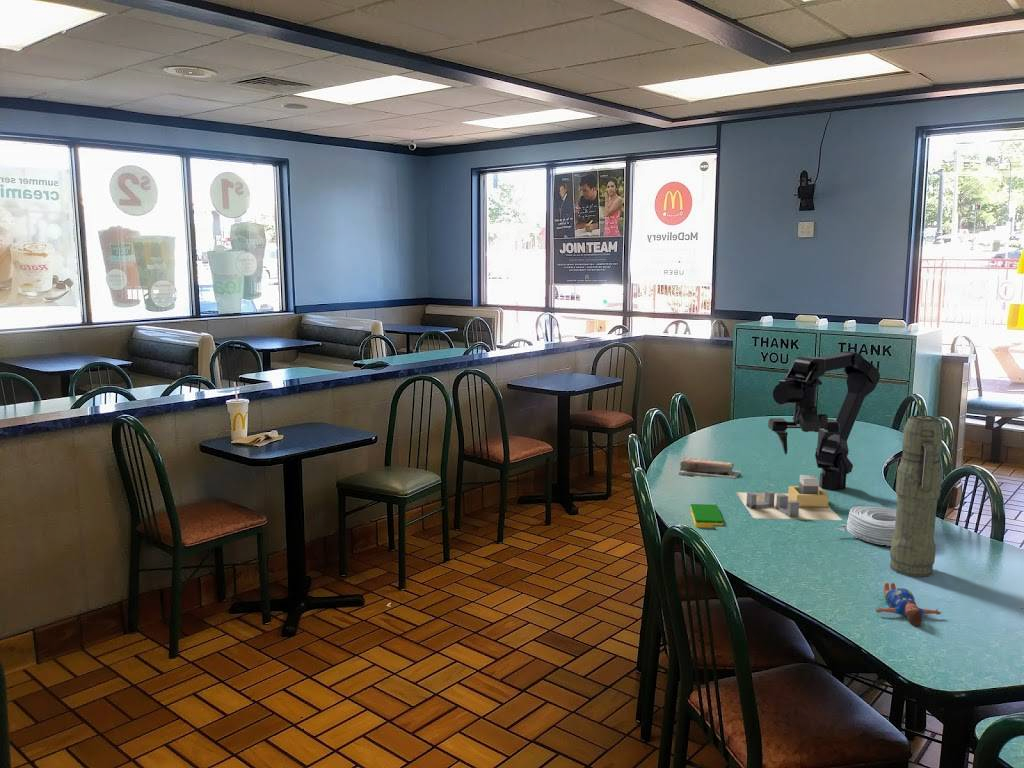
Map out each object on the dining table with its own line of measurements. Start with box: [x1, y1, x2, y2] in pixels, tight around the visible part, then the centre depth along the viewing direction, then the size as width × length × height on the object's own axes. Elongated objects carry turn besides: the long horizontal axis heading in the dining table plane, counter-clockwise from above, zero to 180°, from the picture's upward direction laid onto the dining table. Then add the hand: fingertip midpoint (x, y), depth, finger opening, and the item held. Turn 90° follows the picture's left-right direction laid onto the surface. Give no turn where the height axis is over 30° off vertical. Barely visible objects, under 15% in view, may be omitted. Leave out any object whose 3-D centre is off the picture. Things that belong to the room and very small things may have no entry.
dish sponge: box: [690, 503, 725, 529], centre depth 216 cm, size 7×14×2 cm, turn 173°
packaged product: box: [677, 457, 740, 479], centre depth 259 cm, size 18×5×10 cm
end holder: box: [787, 485, 830, 508], centre depth 226 cm, size 8×8×4 cm
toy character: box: [875, 582, 942, 628], centre depth 161 cm, size 12×5×15 cm
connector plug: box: [798, 474, 820, 494], centre depth 226 cm, size 4×4×7 cm
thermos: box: [889, 414, 943, 578], centre depth 179 cm, size 9×12×35 cm
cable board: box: [735, 491, 843, 521], centre depth 225 cm, size 23×23×1 cm
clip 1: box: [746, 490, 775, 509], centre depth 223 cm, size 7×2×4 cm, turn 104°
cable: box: [837, 505, 896, 547], centre depth 203 cm, size 18×18×6 cm
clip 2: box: [776, 495, 799, 517], centre depth 218 cm, size 7×2×4 cm, turn 12°
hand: (802, 454), depth 233 cm, fingers open, 9 cm apart
